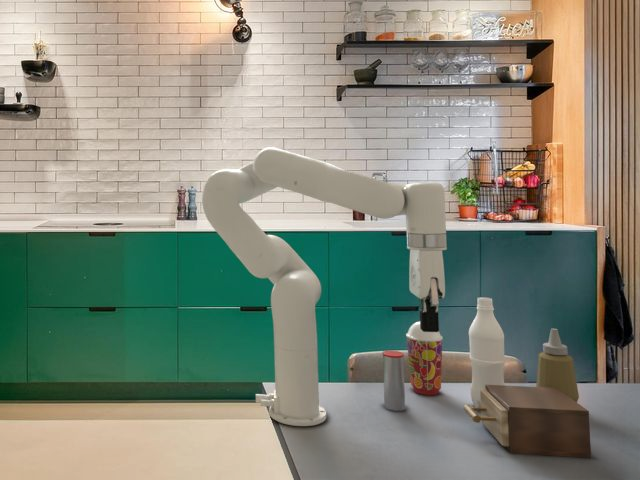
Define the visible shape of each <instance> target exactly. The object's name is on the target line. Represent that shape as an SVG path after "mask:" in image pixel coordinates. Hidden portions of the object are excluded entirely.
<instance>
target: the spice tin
mask: <svg viewBox="0 0 640 480" xmlns="http://www.w3.org/2000/svg"><path fill="white" fill-rule="evenodd" d="M381 354H382V367H383V368H382V369H383V370H382V371H383V391H384V393H383V397H384V401H383V402H384V408H385V409H386V410H388V411H392V412H402V411H403V412H404V411H405V410H406V397H405V396H406V394H405V367H404V366H405V365H404V357H405V354H404V353H403V352H401V351H399V350H384V351H382V353H381Z"/></svg>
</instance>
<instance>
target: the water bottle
mask: <svg viewBox="0 0 640 480" xmlns="http://www.w3.org/2000/svg"><path fill="white" fill-rule="evenodd" d="M476 310H477V312H476V315H475V317H474V319H473V321H472V322H471V324H470V326H469V329H468V337H469V338H468V339H469V340H468V341H469V360H470V364H471V384H470V398H471V402H472V404H473V407H481V396H480V390H485V385H503V386H506V385H505V376H504V373H505V363H506V358H505V355H506V354H505V334H504V331H503V328H502V327H501V325H500V323H499V322H498V320H497V319H496V317H495V313H494V310H495V308H494V305H493V299H492V297H491V298H490V297H481V296H480V297H477V304H476Z"/></svg>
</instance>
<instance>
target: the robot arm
mask: <svg viewBox="0 0 640 480" xmlns="http://www.w3.org/2000/svg"><path fill="white" fill-rule="evenodd" d="M277 188H281V189H284V190H287V191H291V192H294V193H296V194H301V195H303V196H306V197H308V198H309V197H310V198H312V199H315V200H319V201H321V202H326V203H331V204H333V205H336V206H339V207H343V208H346V209H348V210H352V211H355V212H358V213H362V214H365V215H368V216H370V217H374V218H377V219H381V220H388V219H392V218H394V217H399V216H405V228H406V229H405V230H406V249H408V250H409V267H408V268H409V269H408V271H409V272H408V273H409V274H408V275H409V277H408V278H409V279H408V281H409V283H408V288H409V289H408V290H409V292H410V293H411V294H413V295H414V296H415V297H417V298H418V304H419V321H420V329H421V330H422V331H423V332H438V331H439V332H440V323H439V322H440V321H439V320H440V319H439V306H440V305H439V304H440V301H439V300H443V299H444V298H445V296H446V279H445V266H444V256H443V251H447V250H448V248H447V223H446V198H445V196H446V195H445V194H446V193H445V187H444V186H443V185H442V184H441V183H440V182H439V183H438V182H413V183H408V184H401V183H394V182H393V183H392V182H387V181H384V180H380V179H377V178H373V177H369V176H366V175H363V174H359V173H355V172H352V171H349V170H346V169H343V168H342V167H341V168H340V167H338V166H336V164H332V163H329V162H328V161H324V160H320V159H316V158H312V157H309V156H306V155H302V154H298V153H295V152H292V151H289V150H285V149H281V148H277V147H266V148H263V149H262V150H260V151H259V152H258V153H257V154H256V155H255V157H254V159H253V161H252V162H250V163H248V164H246V165H244V166H241V167H240V168H238V169H232V168H224V169H219V170H216V171H215V172H213V173H212V174H210V176H209V177H208V178H207V180H206V182H205V184H204V186H203V189H202V195H201V204H202V210H203V212H204V215H205V218H206V219H207V221H208V223H209V224H210V225H211V227H212V228H213V229H214V231H215V232H216V233H217V235H219V237H220V238H221V239H222V240H223V241H224V242H225V244H226V245H227V246H228V248H229V249H230V250H231V252H232V253H233V254H234V255H235V256H236V258H238V259H239V261H240V262H241V263H242V264H243V266H244V267H245V268H246V269H247V271H248V272H249V273H250V274H251V275H252V276H254V277H255V278H259V279H268V280H269V281H270V282H271V283H272V284H273V287H272V290H271V293H270V307H271V315H272V316H271V317H272V325H273V347H274V348H273V349H274V350H273V351H274V353H273V354H274V387H275V389H274V390H273V392H272V393H271V392H270V393H269V394H263V393H255V403H256V404H260V407H269V408H268V413H269V414H268V415H269V417H270V418H271V419H273V420H274V421H275V422H278V423H280V424H283V425H288V426H292V427H293V426H294V427H311V426H317V425H320V424H322V423H324V422H325V421H327V410H326V409H325V408H324V407H323V406H321V405H320V396H319V395H320V392H319V356H318V353H319V352H318V333H317V332H318V331H317V319H316V318H317V317H316V304H317V303H318V302H319V300H320V298H321V296H322V284H321V281H320V280H319V278H318V276H317V275H316V273H315V272H314V271H313V270H312V269H311V267H309V266H308V265H307V263H306V262H305V261H304V260H303V259H302V258H301V256H299V254H298V252H296V250H294V249H293V248H292V247H291V245H290V244H289V243H288V242H286V240H284V239H283V238H281V237H279V236H277V235H274V234H267V233H265V231H263V229H262V228H261V227H260V226H259V225H258V224H257V223H256V222H255V220H254V219H253V218H252V217H251V216H250V215H249V213H247V211H245V210H244V209H243V208H242V207H241V205H240V204H244V203H247V202H249V201H252V200H254V199H256V198H258V197H259V196H261V195H263V194H267V193H268V192H271V191H272V190H274V189H277ZM422 310H423V311H422Z"/></svg>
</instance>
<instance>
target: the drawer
mask: <svg viewBox="0 0 640 480" xmlns="http://www.w3.org/2000/svg"><path fill="white" fill-rule="evenodd" d="M480 396H481V407H475V406H470V404H464V405H463V410H464V411H465V412H466V414H467V415H468V416H469V417H470V418H471V419H472V421H473V422H474V423H477V424H478V423H480V422H481V424H483V426H484V427H485V428H486V429H487V430H488V431H489V433H491V435H492V436H493V437H494V438H495V440H497V441H498V442H499V444H500V445H501V446H502V447H506V446H509V425H508V409H507V408H506V407H505V406H504V405H502V404H501V403H500V402H499V401H498V400H497V399H496V398H494V397H493V396H492V395H491V394H490V393H489V392H488V391H487V390H480ZM477 412H480V415H479V414H478V413H477Z"/></svg>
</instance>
